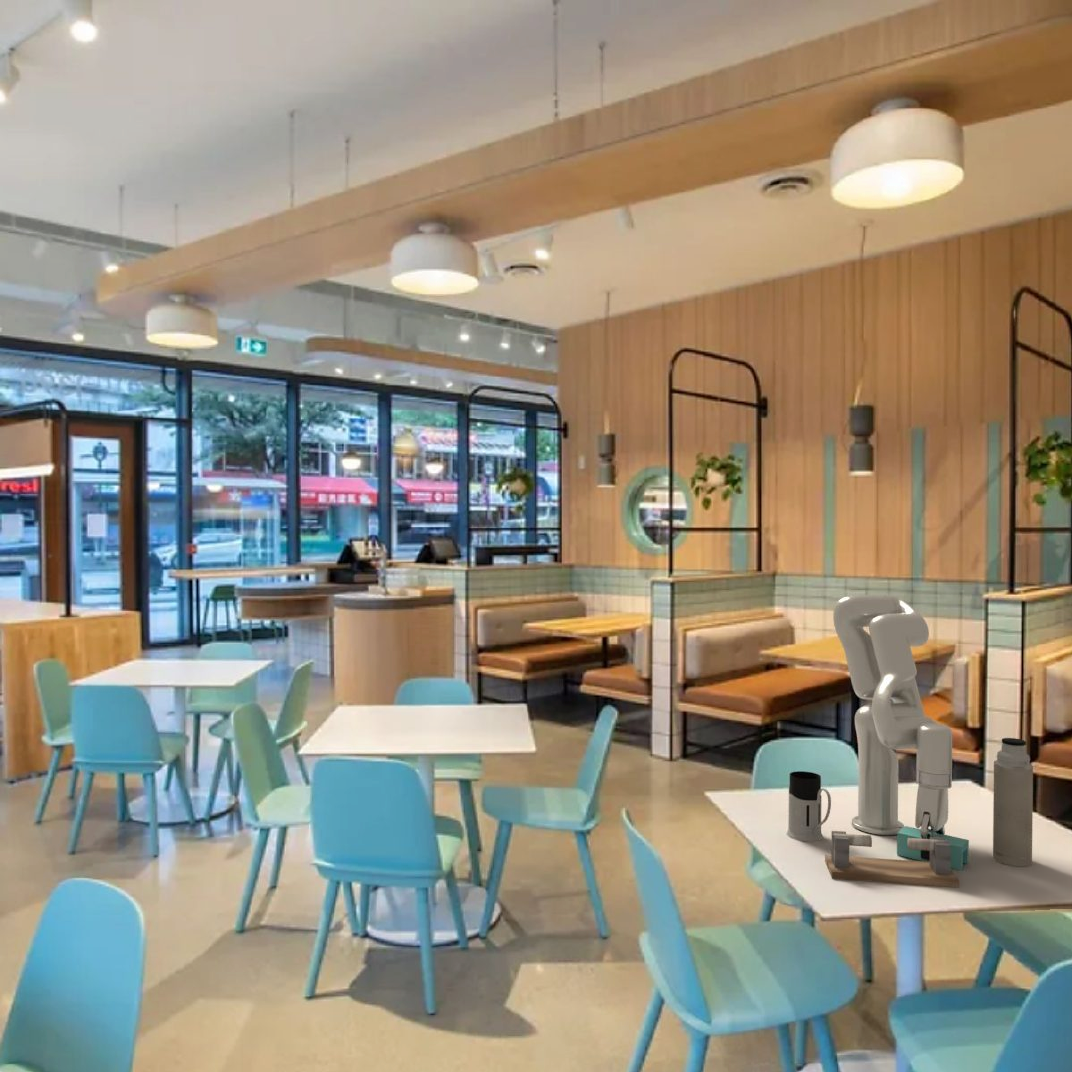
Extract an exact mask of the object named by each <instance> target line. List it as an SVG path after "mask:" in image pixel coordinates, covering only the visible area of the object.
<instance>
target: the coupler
mask: <svg viewBox="0 0 1072 1072" xmlns="http://www.w3.org/2000/svg"><path fill="white" fill-rule="evenodd" d="M920 830H921V828H917V827H912V826H907V825H904V828H903V829H901V830H900V831H899V832H898V833H897V834H896V837H897V840H896V855H897V856H900V857H905V858H909V859H913V860H916V861H924V862H930V860H925V859H922V858H921V850H911V849H908V838H918V839H921V833H920ZM928 834H930V835H931V836H932V832H928ZM935 837H943V838H945V839H946V840H947V841H948V843H949V844H950V845H951V869H955V870H959V871H962V870H963V864H967V865H968V863H969V852H970V851H969V849H970V847H969V846H970V845H969V843H970V842H969V841H970V840H969V839H966V838H961V837H958V836H953V835H947V834H939V833H936V835H935Z"/></svg>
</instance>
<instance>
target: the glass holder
mask: <svg viewBox="0 0 1072 1072" xmlns="http://www.w3.org/2000/svg"><path fill="white" fill-rule="evenodd" d="M821 786H822V777H821V774H818V773H815V772H811V771H802V770H799V771H791V772H790V773H789V786H788V829H787V831H786V836H787V837H789V838H790V839H793V840H797V841H800V842H801V841H802V842H818V841H821V840H823V839H824V835H823V833H822V825H824V824H825V823H826V822H827V820H828V818H829V817H830V814H831V809H832V808H831V807H832V797H831V793H830V792H829V791H828V790H827V788H823V787H821ZM822 791H824V792H825V794H826V796H827V809H826V814H825V817H824V819H823V820H822Z"/></svg>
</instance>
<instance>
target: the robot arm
mask: <svg viewBox="0 0 1072 1072" xmlns="http://www.w3.org/2000/svg"><path fill="white" fill-rule="evenodd" d="M832 614H833V619H832V620H833V625H834V626H833V627H834V629H835V632H836V635H837V637H838V638H839V641H840V643H841V645H842V648H843V651H844V654H845V659H846V664H847V668H848V672H849V677H850V680H851V685H852V689H853V691H854V693H855V695H856V696H857V697H858V698H859V699H863V700H872V701H871V703H870V704H865V705H863V706H861V707H859V708H858V709H857V710H856V712H855V715H854V728H855V732H856V737H857V738H856V739H857V749H858V750H857V751H858V752H857V753H858V775H857V776H858V778H857V780H858V782H857V783H858V786H857V787H858V791H857V793H858V795H857V799H858V802H857V805H858V807H857V815H856V816H853V817H852V819H851V825H852V826H853V827H854V828H855V829H857V830H859V831H861V832H865V833H869V834H873V835H880V836H881V835H882V836H894V835H897V833H898V832H899V831H900V830H901V829H903V828H904V827H905V825H904V823H902V822H901V821H900V820H899V759H898V756H897V754H896V752H895V751H894V750H910V749H912V750H913V749H915V750H916V757H915V758H916V760H915V765H916V766H915V770H916V771H915V773H916V775H915V783H916V785H918V787H917V795H916V802H915V816H914V817H915V819H914V826H915V828H917V829H921V830H920V833H921V839H930V837H935V835H936V833H939V834H944V835H946V833H945V832H946V828H945V826H946V824H947V823H948V819H949V789H951V788H952V786H953V785H952V780H953V778H952V777H953V775H952V774H953V730H952V728H950V727H949V726H947V725H945V724H942V723H939V722H937V721H936V720H934V719H932V718H931V717H928V716H926V715H925V711H924V707H923V703H922V699H921V696H920V692H919V688H918V683H917V680H916V676H917V674H918V670H917V666H916V663H915V659H914V657H913V651H912V649H911V648H912V647H922V646H924V645H925V644H927V642H928V641H929V637H930V636H929V635H930V632H929V625H928V624H927V621H926V620H925V619H924V617H923V615H922V614H921V613H919V612H918V610H916V608H914V607H913V606H911V605H910V604H909V603H907V602H906V601H905V599H902V598H901V597H899V596H897V595H894V594H853V595H846V596H844V597H841V598H840V599H838V601H837V602H836V603H835V605H834V608H833V613H832ZM867 627H868V631H866V630H865V629H864V628H867ZM891 700H892V702H891ZM929 827H930V828H929ZM928 832H932V836H931V835H930V834H928ZM921 858H922V859H925V860H930V851H927V850H921Z"/></svg>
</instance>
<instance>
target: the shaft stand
mask: <svg viewBox="0 0 1072 1072" xmlns="http://www.w3.org/2000/svg"><path fill="white" fill-rule="evenodd" d="M830 839H831V846H830V847H831V848H830V850H831V851H830V853H831V855H829V854H828V855H827V854H824V862H825V865H826V868H827V869H828V872H829V875H830V877H831V879H838V880H846V881H847V880H850V881H863V882H864V881H866V882H877V883H878V882H879V883H890V884H891V883H893V884H906V885H907V884H908V885H909V884H910V885H923V886H935V887H950V888H951V887H952V888H960V881H959V879H958V877H957V876H956V875H955V873H954V872H953V870H952V868H951V845H950V844H949V843H948V841H947V840H946V839H945V838H943V837H930V839H918V838H908V849H911V850H927V851H930V862H925V861H921V860H907V859H893V858H892V859H891V858H889V859H888V858H878V857H877V858H876V857H860V856H850V846H851V847H863V848H864V847H867V848H871V847H872V846H873V840H872V836H871V835H869V834H868V835H865V834H851V833H849V834H848V833H847V832H846V831H841V830H838V831H837V830H831V837H830Z"/></svg>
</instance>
